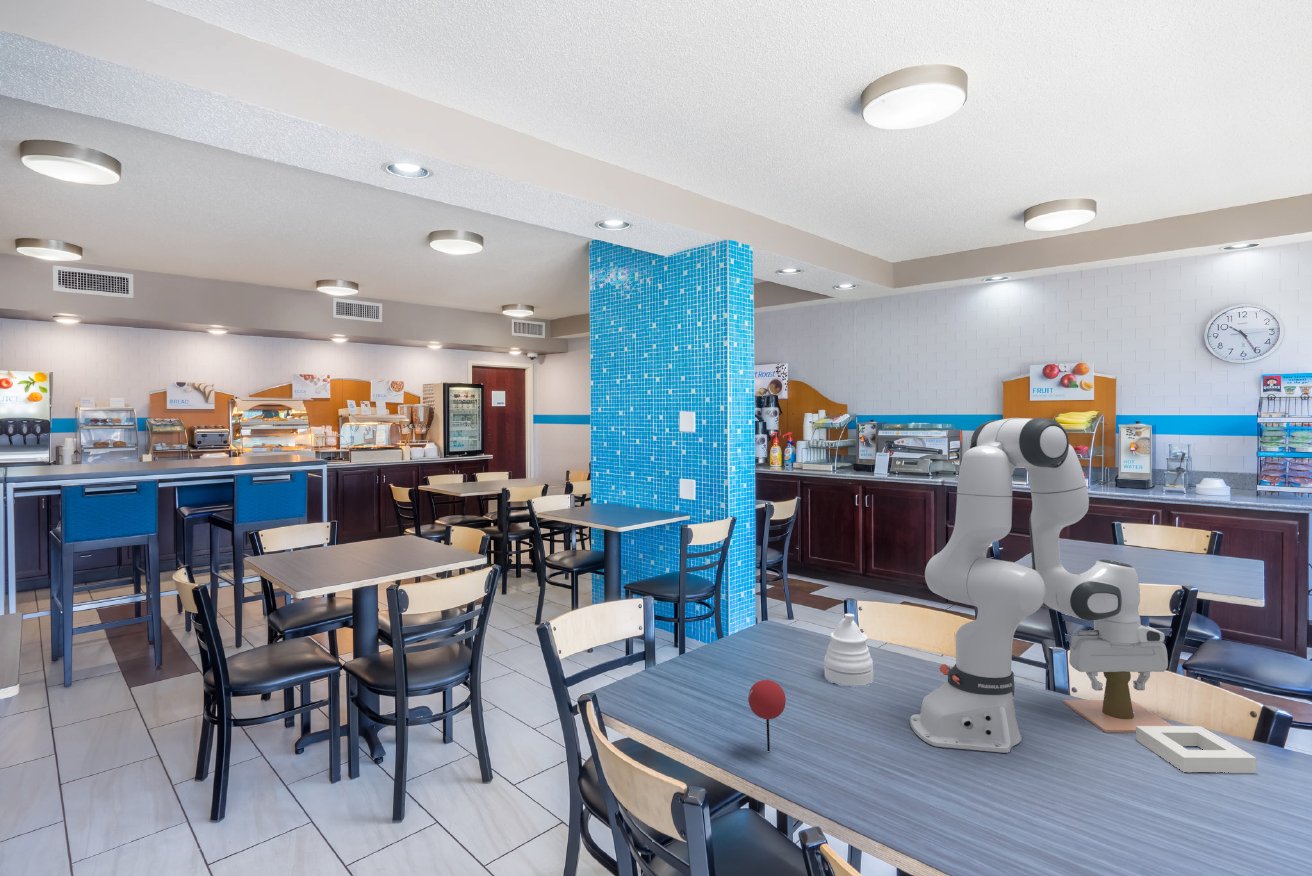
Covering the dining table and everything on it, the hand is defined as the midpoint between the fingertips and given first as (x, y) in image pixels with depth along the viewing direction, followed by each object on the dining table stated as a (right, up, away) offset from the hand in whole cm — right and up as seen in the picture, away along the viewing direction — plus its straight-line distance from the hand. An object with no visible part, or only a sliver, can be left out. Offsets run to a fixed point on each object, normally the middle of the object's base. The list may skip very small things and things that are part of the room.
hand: (1118, 689), depth 148 cm
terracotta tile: (0, -6, 0) cm, 6 cm away
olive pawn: (0, -6, 0) cm, 6 cm away
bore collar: (+2, -6, -18) cm, 19 cm away
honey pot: (-55, -8, +27) cm, 61 cm away
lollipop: (-84, -8, -13) cm, 85 cm away
